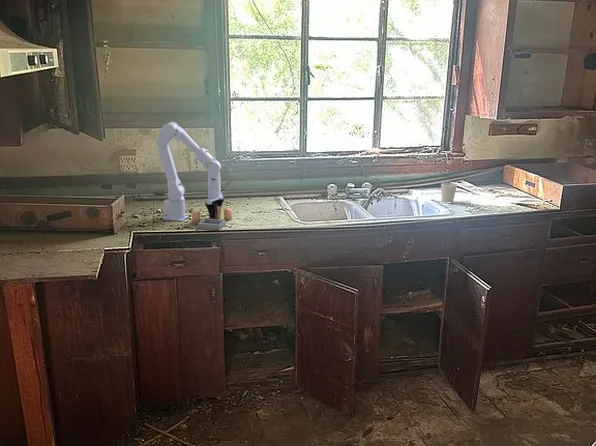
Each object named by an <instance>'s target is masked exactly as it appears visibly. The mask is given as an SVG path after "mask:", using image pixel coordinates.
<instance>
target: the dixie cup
mask: <svg viewBox="0 0 596 446" xmlns="http://www.w3.org/2000/svg"><path fill="white" fill-rule="evenodd" d="M440 185H441V186H440V187H441V189H440V190H441V202H442V201H443V202H453V203H454V199H455V195H456V190H457V187H458V184H457V183H455V182H454V183H453V182H442V183H441V184H440Z"/></svg>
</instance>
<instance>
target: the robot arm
mask: <svg viewBox="0 0 596 446" xmlns="http://www.w3.org/2000/svg"><path fill="white" fill-rule="evenodd" d="M173 138H174V140H175V141H176V140H178V141H181V142H182V143H183V144H185V146H187V148H189V149H190V151H192V152H193V154H194V158H195V159H196V160H197V161H198V162H199V163H200V164H201V166H203V167H204V168H206V172H207V191H208V192H207V195H208V196H207V200H206V202H204V206H206V209H207V211H208V215H210V218H215V214H216V207H217V206H220V208H221V209H222V206H223V203H224V201H225V198H224V196H223V193H222V192H221V191H222V190H221V188H222V186H221V180H222V179H221V167H222V165H221V163H220V161H219V160H217V159H216V157H213V156H212V155H211V153H209V149H207V148H206V149H205V147H204V148H203V147H200V146H199V145H198V144H197V143H196V142H195V141H194V140H193V139H192V138H191V136H189V134H188V133H187V132H186V131H185V130H184V129H183V128H182V127H181V126H179V123H177V122H175V121H169V122H168V123H165V124H163V125H162V127H161V128H160V129H159V131H158V137H157V140H156V147H157V151H158V154H159V157H160V160H161V164H162V167H163V171H164V174H165V175H164V176H165V177H166V178H165V179H166V181H167V185H166V186H167V198H168V199H167V198H166V199H165V200H164V201H163V205H162V209H163V211H162V212H163V218H162V219H163V220H166V221H177V222H183V221H184V220H185V219H188V218H189V215H186V201H185V200H186V199H185V197H184V195H185V192H186V188H185V187H184V185H183V184H182V181H181V180H180V179H179V178H180V177H178V172H177V170H176V166H175V163H174V162H175V161H174V158H173V156H172V155H173V154H172V152H171V149H170V143H171V141H172V140H173Z"/></svg>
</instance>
